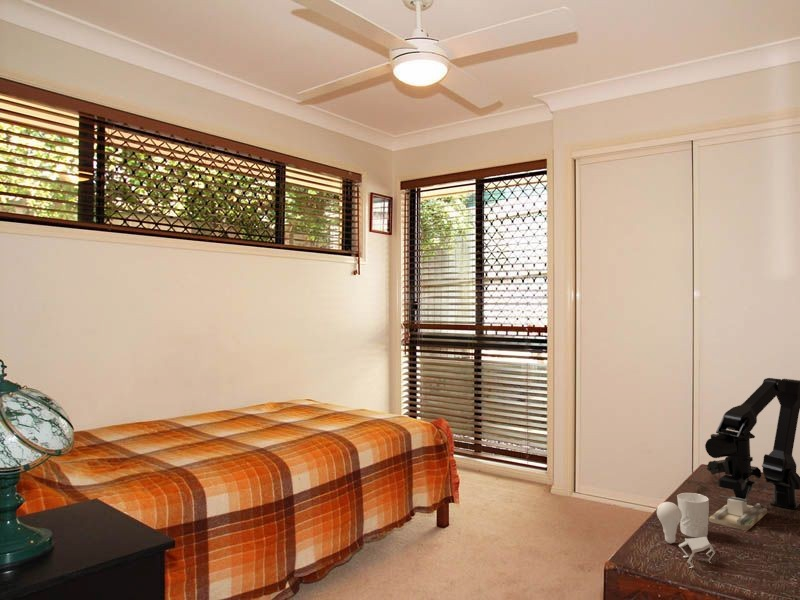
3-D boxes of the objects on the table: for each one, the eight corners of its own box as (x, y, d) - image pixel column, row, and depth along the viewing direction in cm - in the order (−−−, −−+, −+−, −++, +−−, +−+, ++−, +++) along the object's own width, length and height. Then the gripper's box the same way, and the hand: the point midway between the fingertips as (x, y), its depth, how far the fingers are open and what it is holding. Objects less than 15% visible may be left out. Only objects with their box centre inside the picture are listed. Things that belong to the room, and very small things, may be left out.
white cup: (709, 529, 161) (707, 494, 161) (711, 540, 154) (709, 503, 154) (678, 526, 164) (676, 491, 164) (679, 536, 157) (677, 500, 157)
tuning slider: (722, 507, 173) (722, 493, 173) (757, 515, 166) (756, 500, 166) (718, 511, 170) (717, 496, 170) (752, 519, 163) (752, 504, 163)
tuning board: (730, 505, 178) (730, 497, 178) (767, 513, 171) (766, 505, 171) (709, 521, 166) (708, 513, 166) (747, 530, 159) (746, 522, 159)
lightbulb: (685, 548, 149) (684, 506, 150) (661, 547, 151) (659, 506, 151) (679, 539, 155) (677, 498, 156) (655, 538, 157) (653, 498, 157)
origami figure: (679, 550, 149) (678, 531, 149) (715, 556, 145) (715, 536, 145) (676, 569, 139) (675, 549, 139) (715, 576, 134) (714, 555, 134)
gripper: (721, 443, 183) (723, 491, 183) (698, 455, 171) (700, 507, 171) (760, 449, 175) (762, 500, 175) (739, 462, 162) (742, 516, 162)
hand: (741, 505), depth 171 cm, fingers closed
